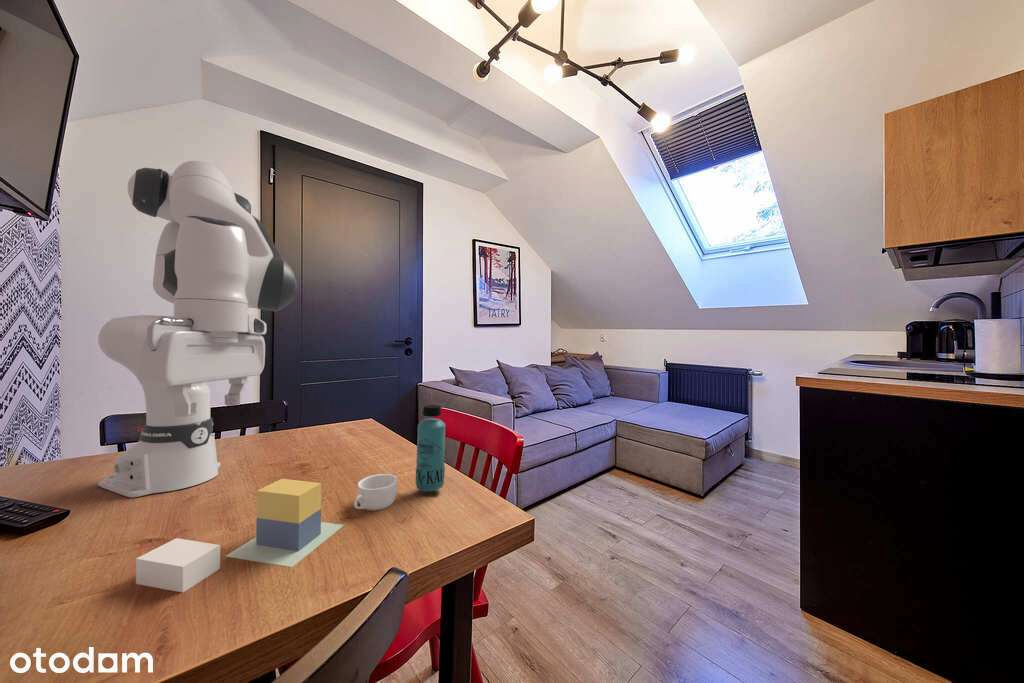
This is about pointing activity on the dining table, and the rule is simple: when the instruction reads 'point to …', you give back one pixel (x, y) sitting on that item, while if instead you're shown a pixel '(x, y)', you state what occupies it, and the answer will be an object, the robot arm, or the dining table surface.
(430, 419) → the beverage bottle
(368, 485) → the teacup
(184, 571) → the cream brick
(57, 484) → the dining table surface
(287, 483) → the mustard brick
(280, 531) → the navy brick
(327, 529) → the build plate
